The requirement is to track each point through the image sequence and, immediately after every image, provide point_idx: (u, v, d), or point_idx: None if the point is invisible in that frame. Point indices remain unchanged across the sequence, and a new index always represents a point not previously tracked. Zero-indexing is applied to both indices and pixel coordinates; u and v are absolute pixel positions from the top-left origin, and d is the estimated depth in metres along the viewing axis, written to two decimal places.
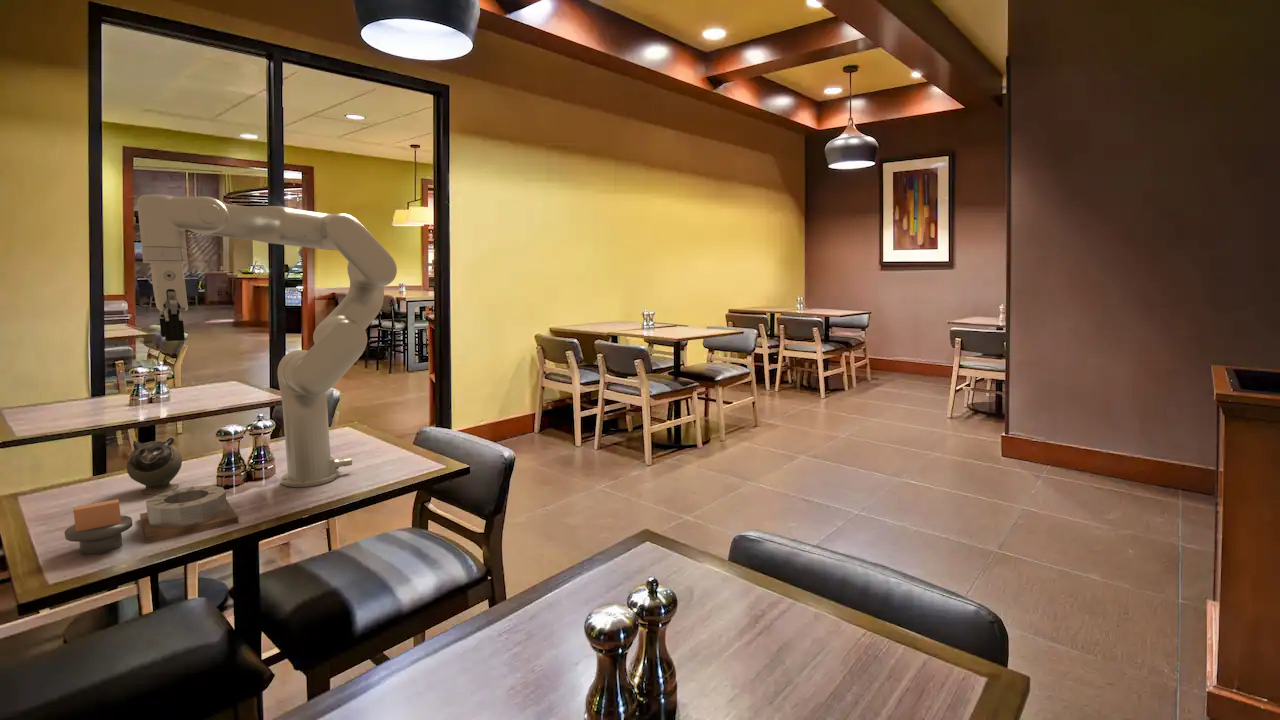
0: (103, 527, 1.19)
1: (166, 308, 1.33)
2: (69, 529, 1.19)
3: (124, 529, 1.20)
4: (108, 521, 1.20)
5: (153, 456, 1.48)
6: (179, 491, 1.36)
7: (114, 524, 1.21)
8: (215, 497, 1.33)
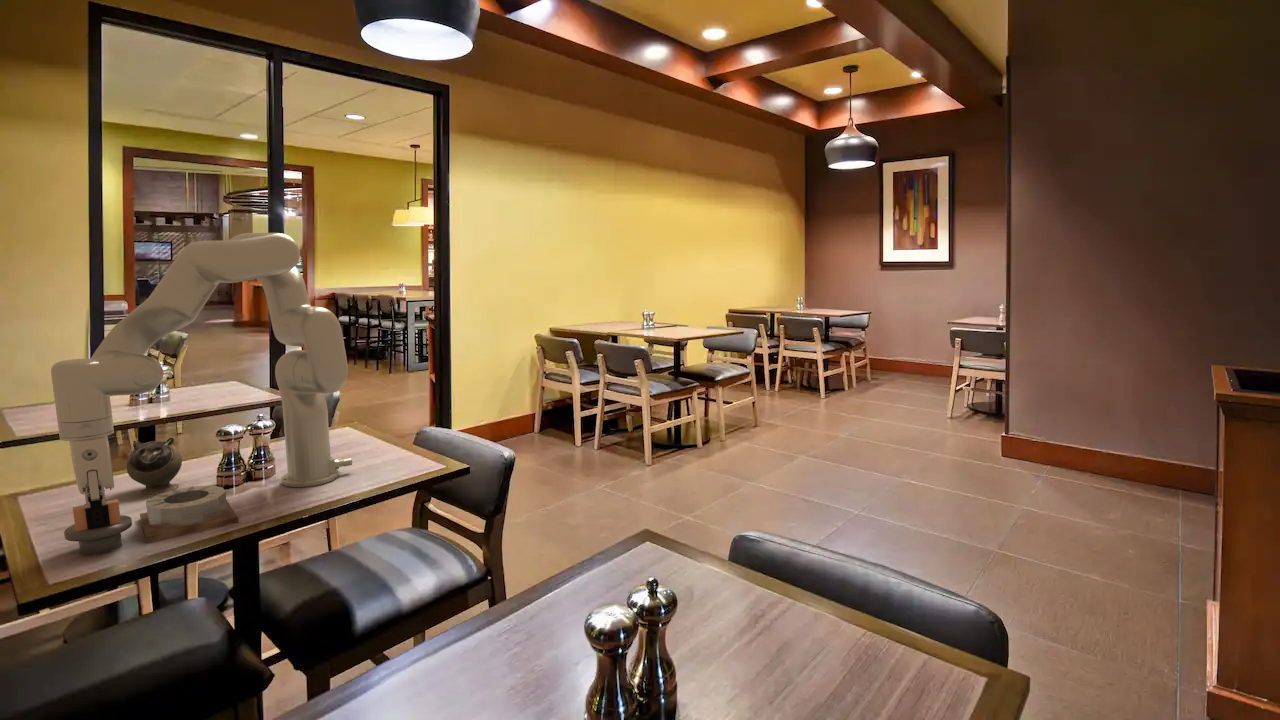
0: (102, 527, 1.19)
1: (87, 494, 1.17)
2: (69, 529, 1.18)
3: (124, 529, 1.20)
4: None
5: (153, 456, 1.48)
6: (179, 491, 1.36)
7: (113, 524, 1.21)
8: (215, 497, 1.33)
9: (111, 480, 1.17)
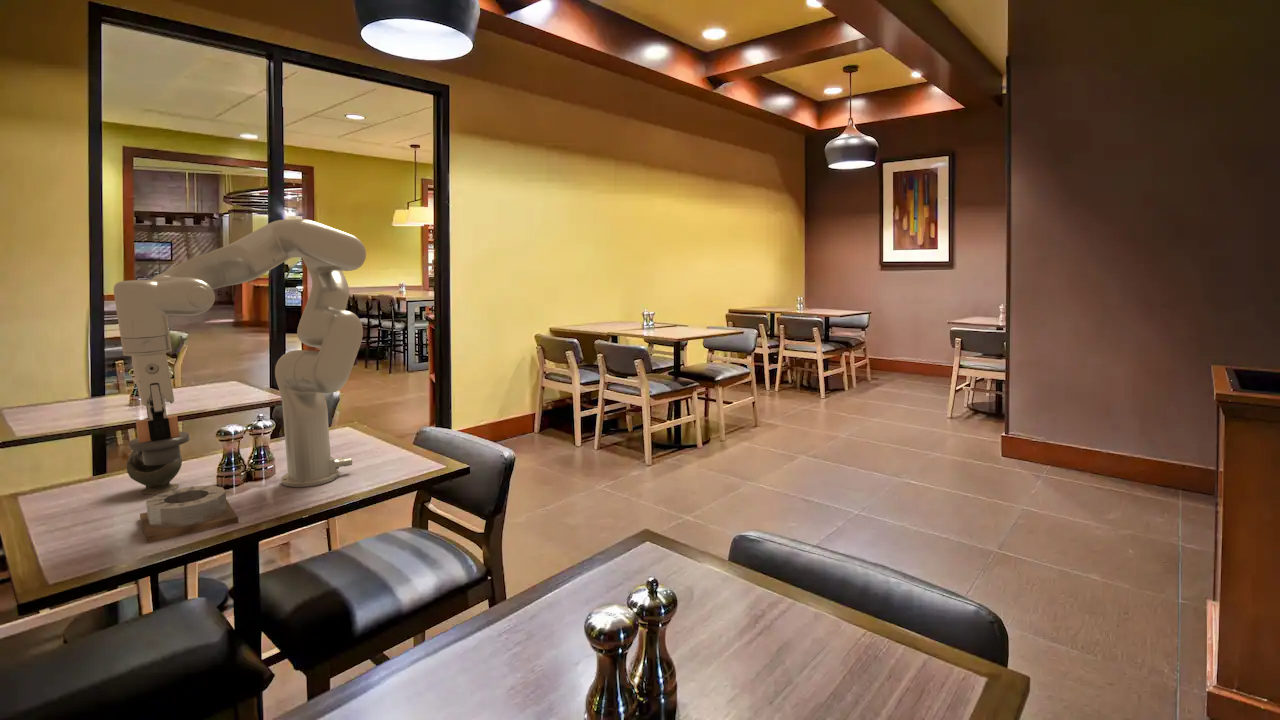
0: (164, 440, 1.27)
1: (150, 407, 1.24)
2: (132, 441, 1.26)
3: (183, 441, 1.28)
4: None
5: None
6: (179, 491, 1.36)
7: (173, 437, 1.28)
8: (215, 497, 1.33)
9: (172, 394, 1.25)
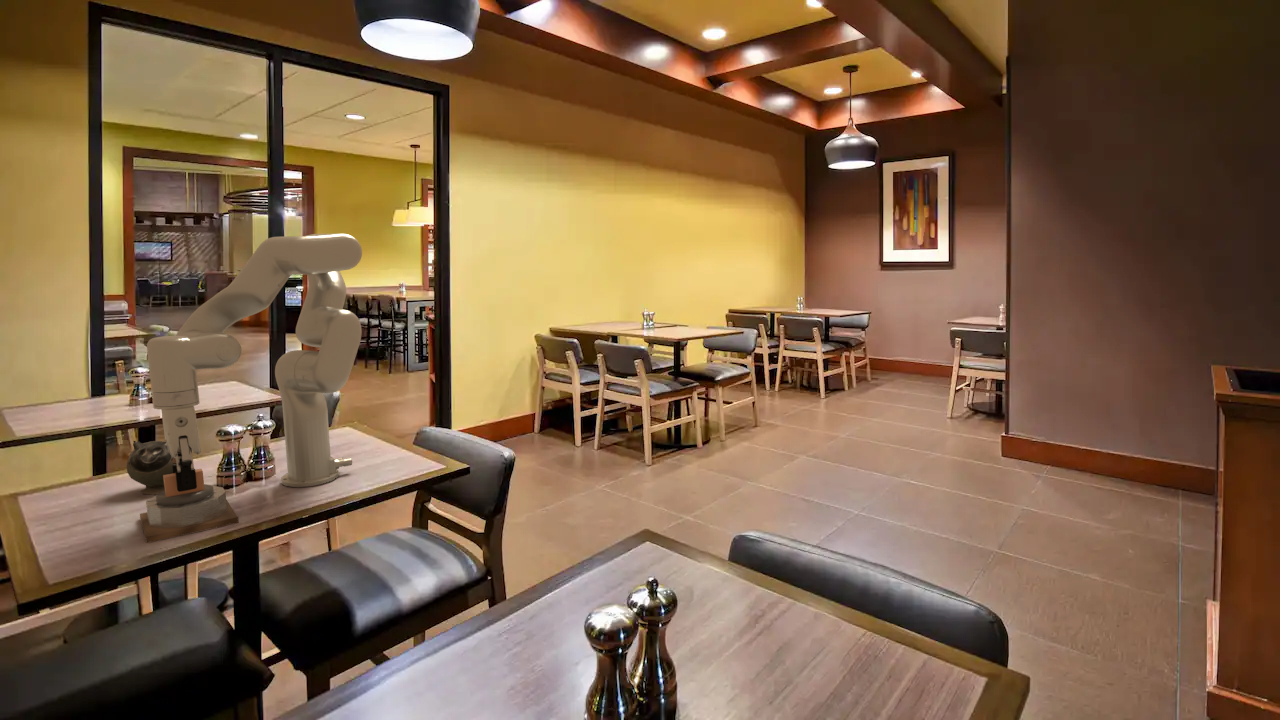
0: (189, 494, 1.32)
1: (178, 458, 1.29)
2: (159, 495, 1.31)
3: (208, 495, 1.33)
4: None
5: (153, 456, 1.48)
6: None
7: (198, 491, 1.33)
8: (215, 497, 1.33)
9: (199, 445, 1.29)
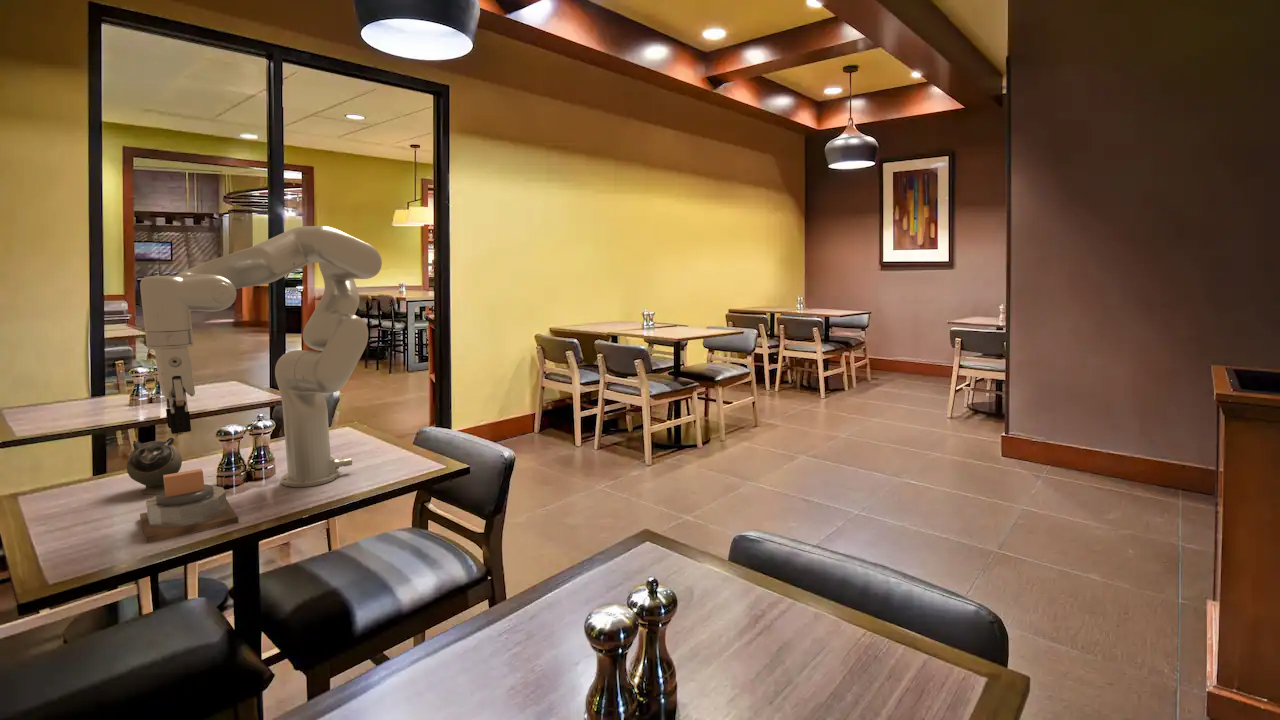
0: (189, 494, 1.32)
1: (172, 399, 1.27)
2: (159, 495, 1.31)
3: (208, 495, 1.33)
4: (193, 488, 1.33)
5: (153, 456, 1.48)
6: None
7: (198, 491, 1.33)
8: (215, 497, 1.33)
9: (193, 387, 1.28)
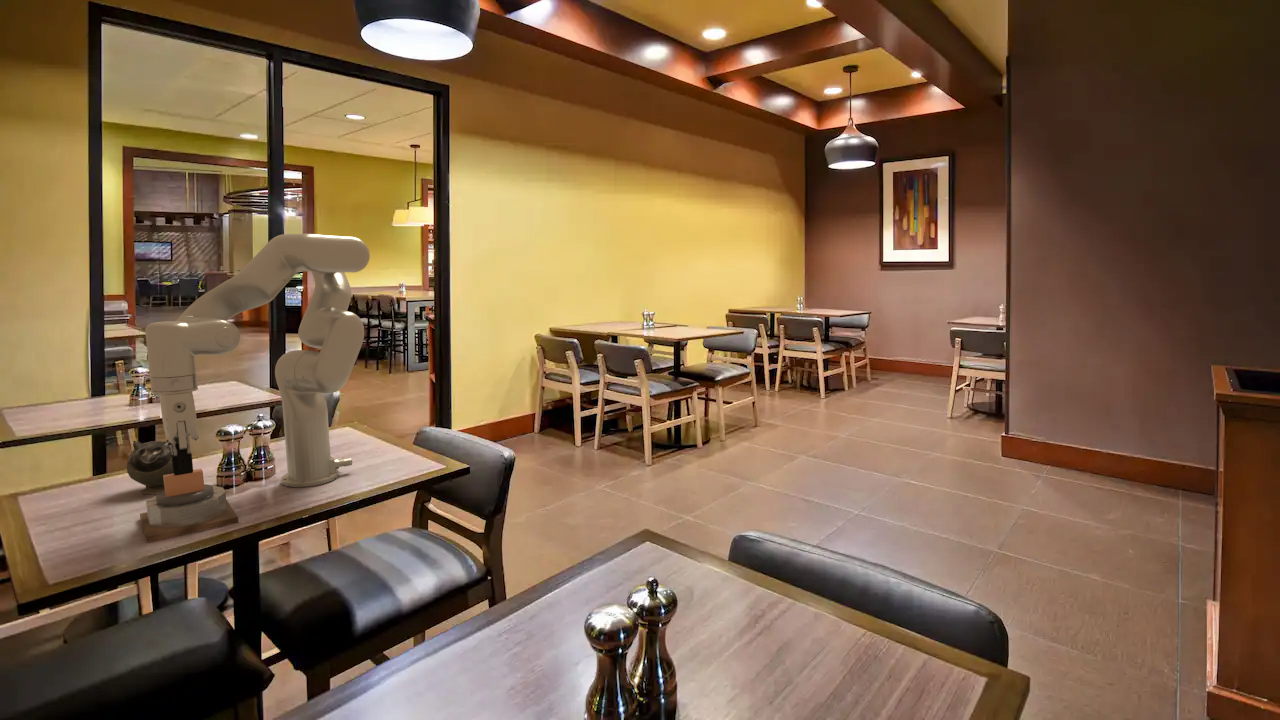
0: (189, 494, 1.32)
1: (175, 444, 1.29)
2: (159, 495, 1.31)
3: (208, 495, 1.33)
4: (193, 488, 1.33)
5: (153, 456, 1.48)
6: None
7: (198, 491, 1.33)
8: (215, 497, 1.33)
9: (197, 431, 1.29)
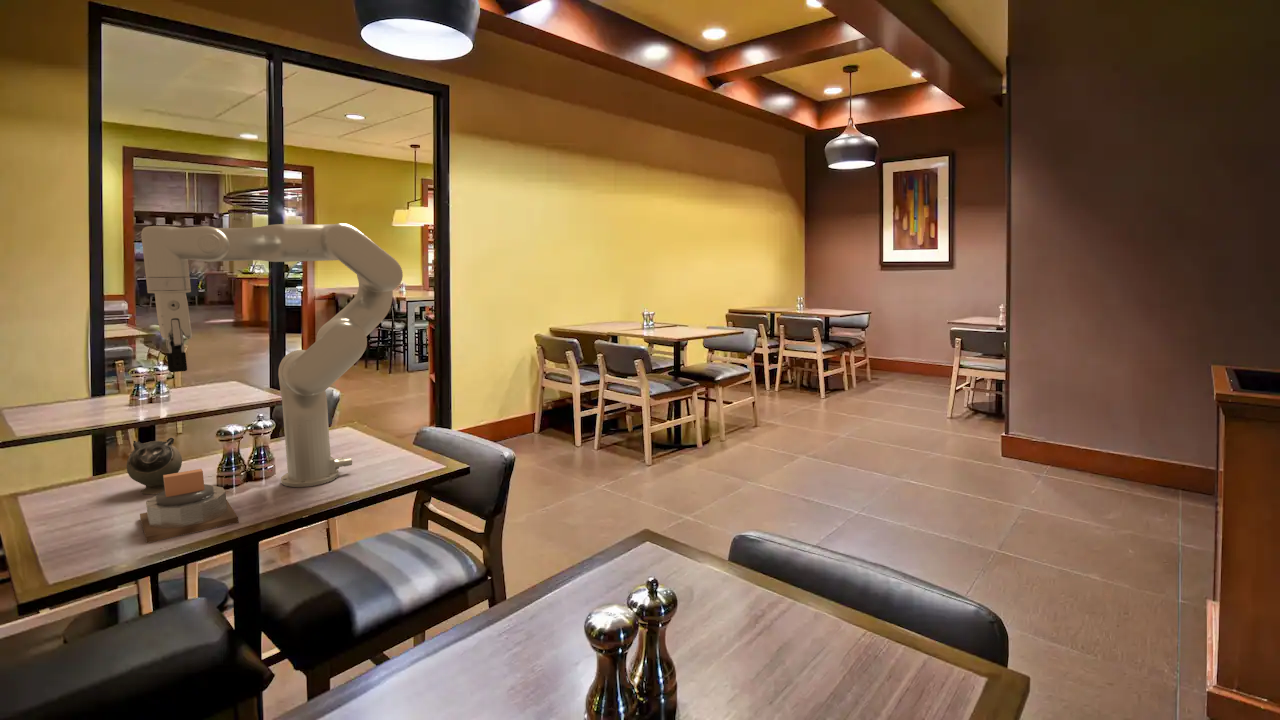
0: (189, 494, 1.32)
1: (170, 341, 1.38)
2: (159, 495, 1.31)
3: (208, 495, 1.33)
4: (193, 488, 1.33)
5: (153, 456, 1.48)
6: None
7: (198, 491, 1.33)
8: (215, 497, 1.33)
9: (190, 329, 1.38)
